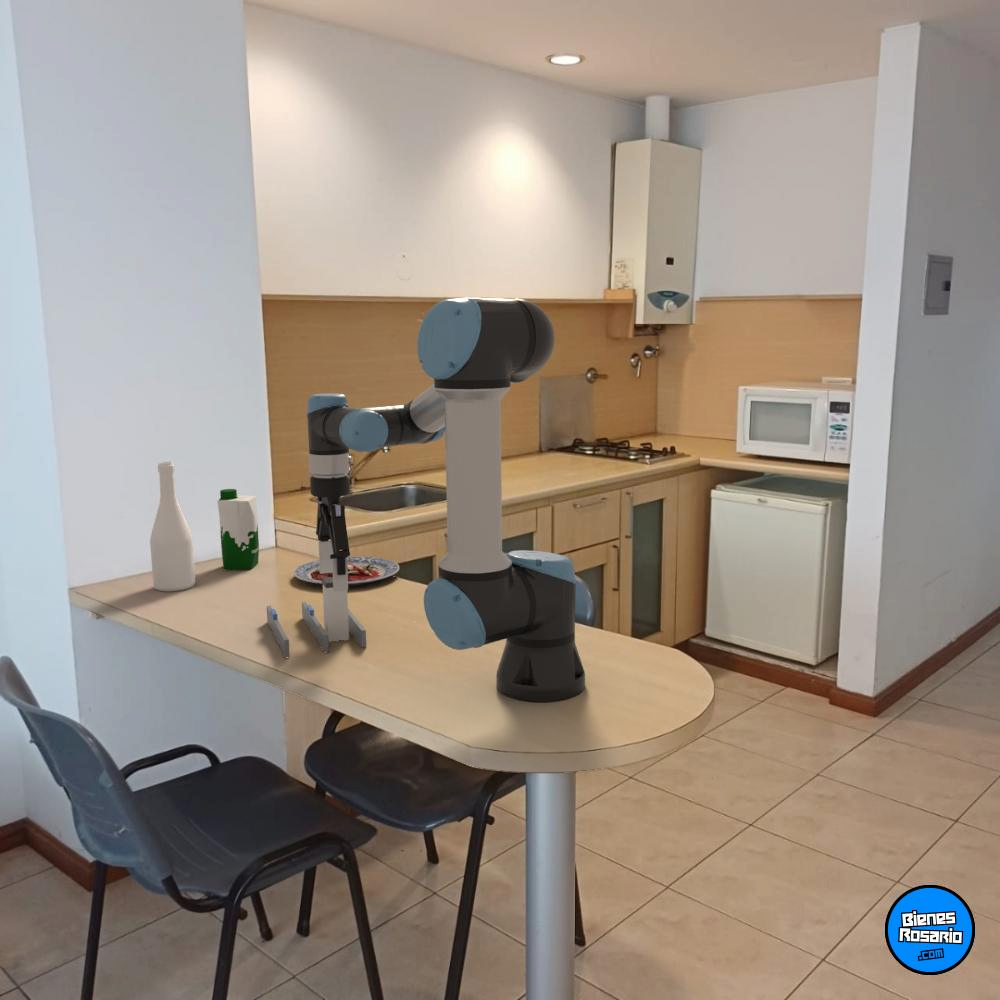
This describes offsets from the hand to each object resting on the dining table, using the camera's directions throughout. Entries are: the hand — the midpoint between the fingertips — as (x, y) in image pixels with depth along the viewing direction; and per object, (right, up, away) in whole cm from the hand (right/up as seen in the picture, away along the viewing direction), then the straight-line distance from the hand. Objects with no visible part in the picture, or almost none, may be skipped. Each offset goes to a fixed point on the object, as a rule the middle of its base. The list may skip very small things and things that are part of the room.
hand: (333, 581), depth 190 cm
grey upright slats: (-5, -11, +4) cm, 13 cm away
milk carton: (-34, -1, +59) cm, 69 cm away
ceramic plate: (-5, -3, +48) cm, 49 cm away
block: (0, -11, +2) cm, 12 cm away
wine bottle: (-45, -5, +41) cm, 61 cm away
